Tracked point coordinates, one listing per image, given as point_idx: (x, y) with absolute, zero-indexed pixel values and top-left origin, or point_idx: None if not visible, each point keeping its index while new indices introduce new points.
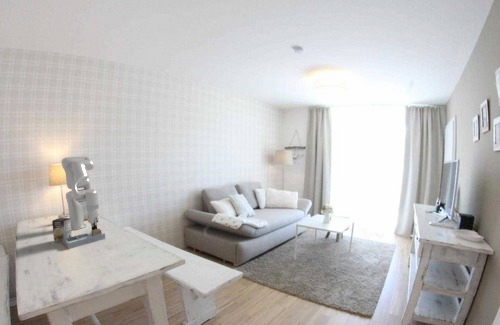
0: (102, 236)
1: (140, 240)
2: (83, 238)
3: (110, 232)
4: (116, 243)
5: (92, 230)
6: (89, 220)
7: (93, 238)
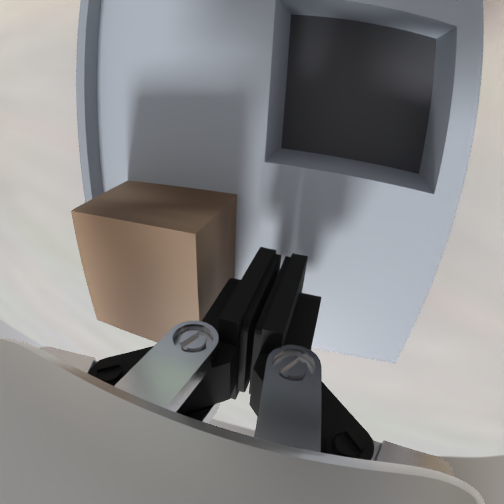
0: None
1: (11, 321)
2: (172, 44)
3: None
4: (12, 246)
5: (167, 246)
6: (57, 500)
7: (100, 160)
